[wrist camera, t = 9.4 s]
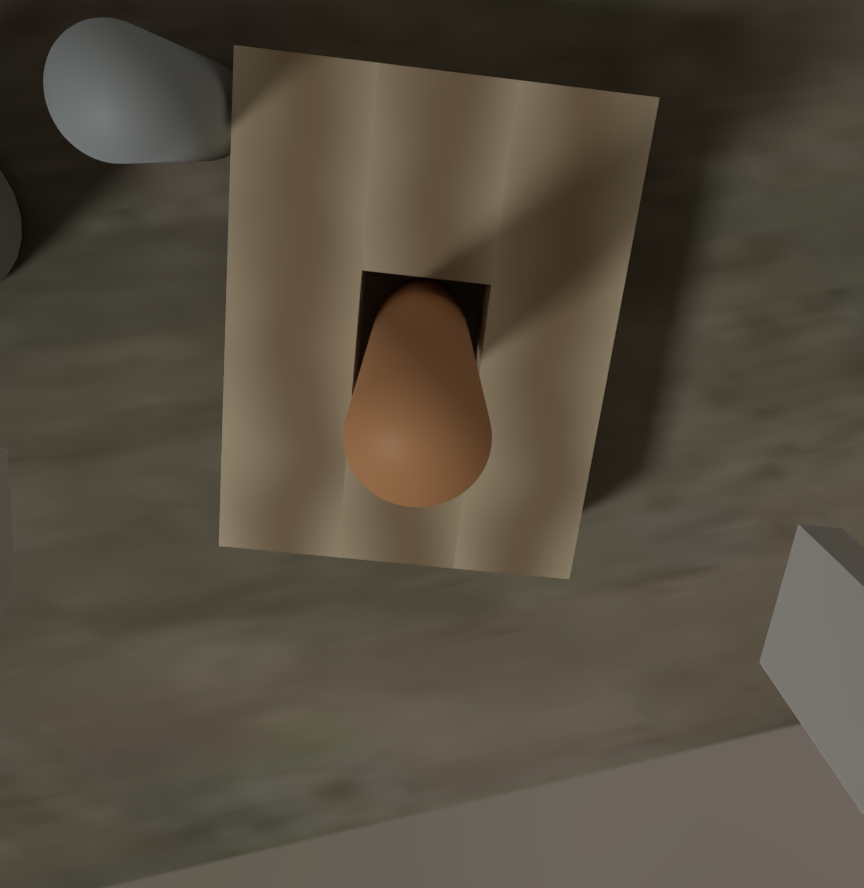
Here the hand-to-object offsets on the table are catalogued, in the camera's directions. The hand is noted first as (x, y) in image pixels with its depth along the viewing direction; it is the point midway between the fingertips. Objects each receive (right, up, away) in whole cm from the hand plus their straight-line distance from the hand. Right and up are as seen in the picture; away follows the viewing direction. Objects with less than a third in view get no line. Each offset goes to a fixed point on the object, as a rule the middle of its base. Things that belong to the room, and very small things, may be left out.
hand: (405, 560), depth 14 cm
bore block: (0, +7, +20) cm, 22 cm away
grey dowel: (-8, +15, +18) cm, 24 cm away
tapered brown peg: (0, +7, +19) cm, 20 cm away
